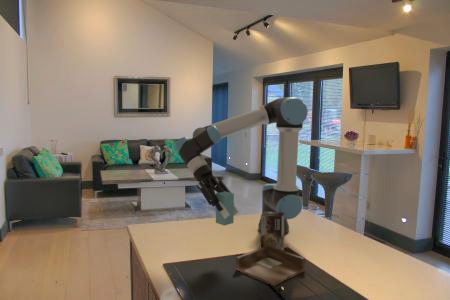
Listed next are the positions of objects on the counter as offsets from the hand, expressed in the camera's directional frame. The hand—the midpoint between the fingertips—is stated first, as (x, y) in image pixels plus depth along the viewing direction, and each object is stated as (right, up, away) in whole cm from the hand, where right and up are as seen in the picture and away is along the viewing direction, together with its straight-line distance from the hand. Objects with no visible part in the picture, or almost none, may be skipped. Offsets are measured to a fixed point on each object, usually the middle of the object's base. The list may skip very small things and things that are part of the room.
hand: (232, 215), depth 150 cm
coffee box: (+17, -17, +12) cm, 27 cm away
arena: (+14, -19, -8) cm, 25 cm away
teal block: (-3, -4, +3) cm, 5 cm away
